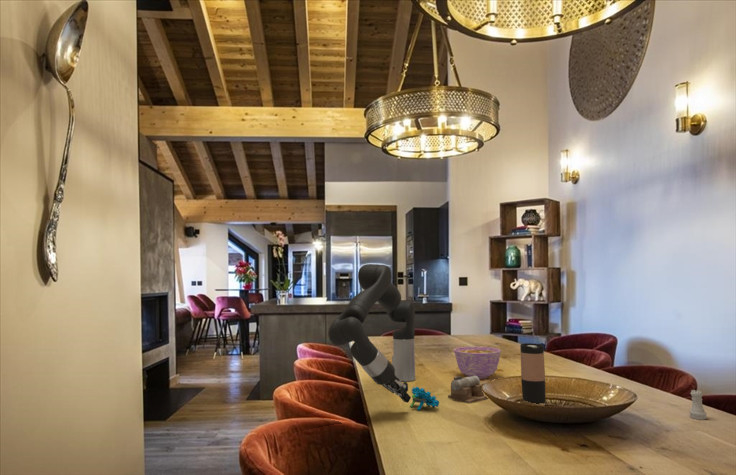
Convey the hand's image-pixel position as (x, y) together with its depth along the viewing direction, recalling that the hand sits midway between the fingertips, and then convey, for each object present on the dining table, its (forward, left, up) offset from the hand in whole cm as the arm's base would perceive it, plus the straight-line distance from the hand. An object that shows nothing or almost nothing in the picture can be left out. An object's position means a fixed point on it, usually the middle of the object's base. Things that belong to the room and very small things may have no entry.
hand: (407, 400), depth 153 cm
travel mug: (+20, +39, -4) cm, 44 cm away
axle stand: (0, +27, -4) cm, 28 cm away
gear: (0, +7, -4) cm, 8 cm away
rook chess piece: (+59, +65, -4) cm, 88 cm away
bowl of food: (-22, +59, -4) cm, 63 cm away
